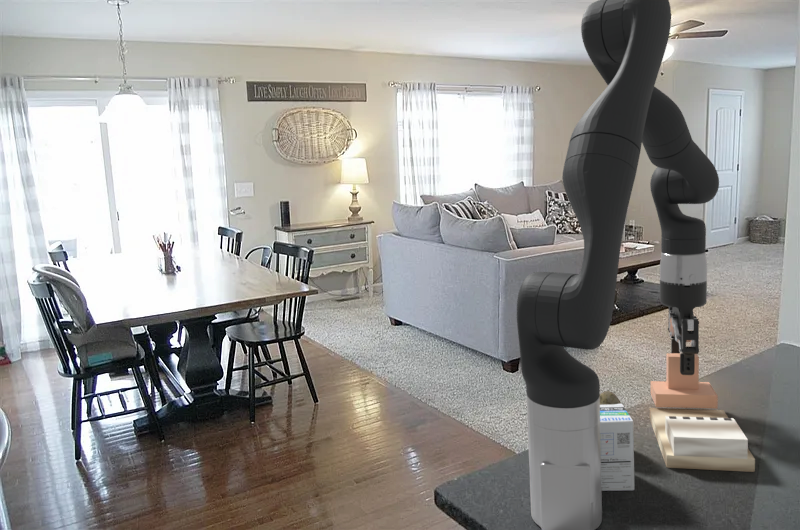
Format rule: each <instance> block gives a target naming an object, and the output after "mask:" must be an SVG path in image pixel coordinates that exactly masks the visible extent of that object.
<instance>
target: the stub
mask: <svg viewBox="0 0 800 530" xmlns="http://www.w3.org/2000/svg"><path fill="white" fill-rule="evenodd" d="M665 355H666V360H665V361H666V362H665V363H666V365H665V366H666V367H665V368H666V377H665V378H666V380H665V381H663V380H662V381H661V380H660V381H659V380H657V381H655V380H653V381H652V380H650V395H651V398H652V400H653V403H654V406H655V408H677V409H714V410H719V409H718V402H719V401H718V399H719V396H718V394H717V392H716V391H715V389H714V387H713V386H712V384H711V383H710V382H709V381H700V380H699V379H700V378H699V377H700V375H699V373H700V371H699V370H700V362H699V361H700V357H699V355H698V354H695V368H694V374H693V375H682V374H681V373H680V353H671V352H670V353H666V354H665Z"/></svg>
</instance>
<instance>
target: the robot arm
mask: <svg viewBox="0 0 800 530" xmlns="http://www.w3.org/2000/svg"><path fill="white" fill-rule="evenodd" d="M670 3H671V2H670V0H596V1H593V2H592V3H591V4H589V5H588V6H587V7H586V9H585V10H584V12H583V14H582V19H581V24H580V26H581V27H580V33H581V39H582V43H583V46H584V48H585V51H586V53H587V55H588V57H589V59H590V61H591V63H592V64H593V66H594V67H595V69H596V70H597V72H598V73H599V74H600V76H601V78H602V79H603V80H604V82H605V84H606V85H607V86H606V87H605V89H604V90H602V92H601V94H599V96H598V97H597V98H596V99H595V100H594V101H593V102H592V104H591V105H590V106H589V108H587V109H586V111H585V112H584V113H583V114H582V116H581V118H580V119H579V120H578V122H577V123H576V125H575V127H574V129H573V130H572V133H571V135H570V138H569V143H568V148H567V151H566V156H565V160H564V164H563V170H562V184H563V188H564V192H565V193H566V194H565V195H566V196H567V199H568V202H569V204H570V207H571V208H572V211H573V213H574V215H575V217H576V219H577V221H578V224H579V226H580V230H581V233H582V239H583V258H582V266H581V269H580V272H579V273H568V272H553V271H534V272H532V273H530V274H528V275H527V276H526V277H525V278H524V279H523V280H522V283H521V285H520V287H519V290H518V295H517V300H516V326H517V336H518V337H517V338H518V348H519V355H520V357H519V359H520V369H521V374H522V378H523V380H524V382H525V389H526V390H525V391H526V393H525V394H526V415H527V416H526V419H527V420H526V421H527V441H528V442H527V444H528V464H529V465H528V466H529V467H528V470H529V491H530V515H531V518H532V520H533V521H534V522H535V524H536V525H537V526H538V527H540V528H541V530H596V529H598V528H599V526H600V525H601V524H602V522H603V506H602V504H603V503H602V502H603V500H602V497H603V495H602V491H601V446H600V394H601V393H600V392H601V391H600V388H601V387H600V385H601V384H600V379H599V376H598V374H597V373H596V372H595V370H593V369H592V368H591V367H589V366H588V365H586V364H584V363H583V362H580V361H579V360H577V359H576V358H575V357H574V356H573V355H571V354H570V353H569V352H568V351H567V349H565V348H572V349H579V350H589V351H591V350H595V349H598V348H599V347H600V346H601V345H602V344H603V343H604V341H605V339H606V337H607V335H608V332H609V329H610V326H611V322H612V319H613V318H612V317H613V312H614V305H615V297H616V290H617V282H618V281H617V280H618V271H619V266H620V265H619V263H620V255H621V248H622V241H623V240H622V239H623V234H624V228H625V223H626V220H627V214H628V210H629V209H628V208H629V204H630V200H631V196H632V191H633V187H634V184H635V180H636V176H637V171H638V165H639V160H640V154H641V151H642V149H641V148H642V146H643V148H644V150H645V153H646V155H647V158H648V159H649V161H650V163H651V164H652V165H654V166H655V167H657V168H655V169H654V171H653V172H652V174H651V177H650V182H649V183H650V193H651V196H652V197H651V198H652V200H653V203H654V206H655V210H656V213H657V218H658V221H659V225H660V231H661V239H660V242H661V249H660V250H661V255H660V263H659V303H661V305H663V306H666V307H668V320H667V321H668V327H667V330H668V333H669V335H668V336H669V337H670V341H671V342H670V345H671V346H670V347H671V348H670V353H680V373H681V374H682V375H693V374H694V368H695V354H697V355H698V354H699V353H700V346H699V344H700V343H699V340H700V339H699V335H700V334H699V328H700V327H699V325H700V321H699V318H697V317H698V316H697V315H694V309H696V308H701V307H703V306H705V305H706V304H707V301H708V300H707V298H708V297H707V294H708V291H707V289H708V287H707V286H708V261H707V254H706V248H707V247H706V246H707V245H706V241H707V237H706V236H707V226H706V223H705V221H704V220H702V219H700V218H698V217H695V216H694V217H692V216H689V215H687V214H684V213H683V212H682V210H681V208H680V206H679V205H703V204H707V203H708V202H711V201H712V200H713V199H714V198H715V197H716V195H717V193H718V190H719V187H720V178H719V173H718V170H717V169H716V166H715V165H714V164H713V162H712V160H710V158H709V157H708V156H707V155H706V153H705V152H704V151H702V149H701V148H700V147H699V145H697V143H695V141H694V140H693V138H692V135H691V132H690V130H689V126H688V124H687V122H686V119H685V117H684V115H683V112H682V110H681V109H680V107H679V106H678V105H677V103H675V101H673V100H672V98H671V97H669V96H668V95H667V94H666V93H664V92H663V91H662V90H660V89H659V88H657V87H656V86H655V84H656V82H657V78H658V75H659V73H660V69H661V65H662V62H663V61H664V60H663V59H664V55H665V53H666V49H667V46H668V42H669V38H670V31H671V24H672V12H671V11H672V10H671V4H670ZM687 343H690V346H687Z"/></svg>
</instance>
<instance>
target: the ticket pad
mask: <svg viewBox="0 0 800 530" xmlns="http://www.w3.org/2000/svg"><path fill="white" fill-rule="evenodd" d="M649 421H650V424H651V427H652V429H653V432H654V434H655V438H656V440H657V444H658V446H659V449H660V453H661V455H662V458H663V461H664V463H665V467H666V468H669V469H670V468H671V469H689V470H706V471H709V470H710V471H727V472H728V471H730V472H747V473H748V472H749V473H750V472H751V473H755V471H756V470H755V469H756V458H755V457H754V455H753V454H752V452H751V450H750V449H749V447H748V446H749V444H748V443H749V439H748V438H747V436H746V435H745V433H744V431H743V430H742V429H741V427H740V425H739V424H738V423H737V421H736V419H734V418H733V417H728V415H727V413H726V412H725V410H724V409H709V408H672V407H649Z"/></svg>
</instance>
